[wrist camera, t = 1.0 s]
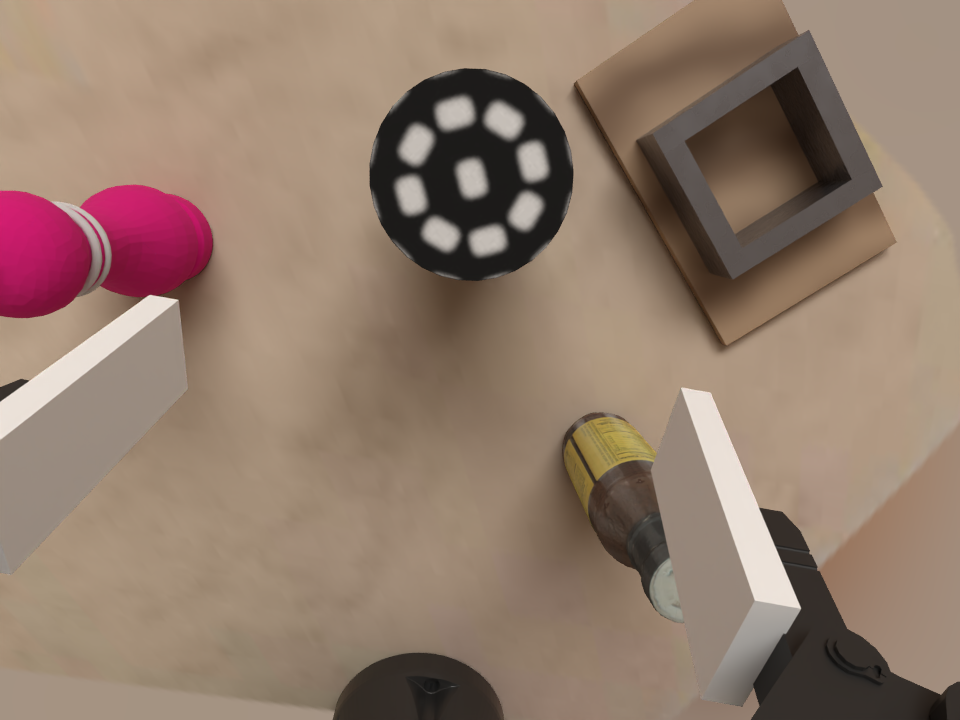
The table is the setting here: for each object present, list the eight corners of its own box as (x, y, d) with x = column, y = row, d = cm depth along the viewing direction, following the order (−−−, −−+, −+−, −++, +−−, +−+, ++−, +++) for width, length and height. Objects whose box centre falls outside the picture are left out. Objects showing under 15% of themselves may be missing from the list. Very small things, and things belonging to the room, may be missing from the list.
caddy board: (887, 241, 46) (896, 242, 45) (721, 342, 48) (726, 345, 47) (753, -40, 42) (760, -45, 41) (574, 83, 43) (576, 80, 42)
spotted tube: (396, 146, 44) (342, 100, 25) (511, 115, 44) (547, 42, 24) (429, 261, 46) (402, 302, 27) (539, 232, 46) (592, 252, 26)
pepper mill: (205, 302, 46) (17, 372, 27) (108, 266, 46) (-157, 312, 26) (232, 209, 45) (54, 212, 25) (132, 170, 44) (-130, 143, 25)
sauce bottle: (608, 494, 51) (695, 672, 32) (544, 456, 50) (594, 614, 31) (655, 432, 50) (775, 576, 30) (591, 391, 49) (673, 513, 29)
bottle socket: (846, 188, 44) (882, 186, 41) (710, 273, 46) (732, 279, 42) (777, 46, 42) (808, 30, 38) (635, 139, 43) (652, 133, 39)
